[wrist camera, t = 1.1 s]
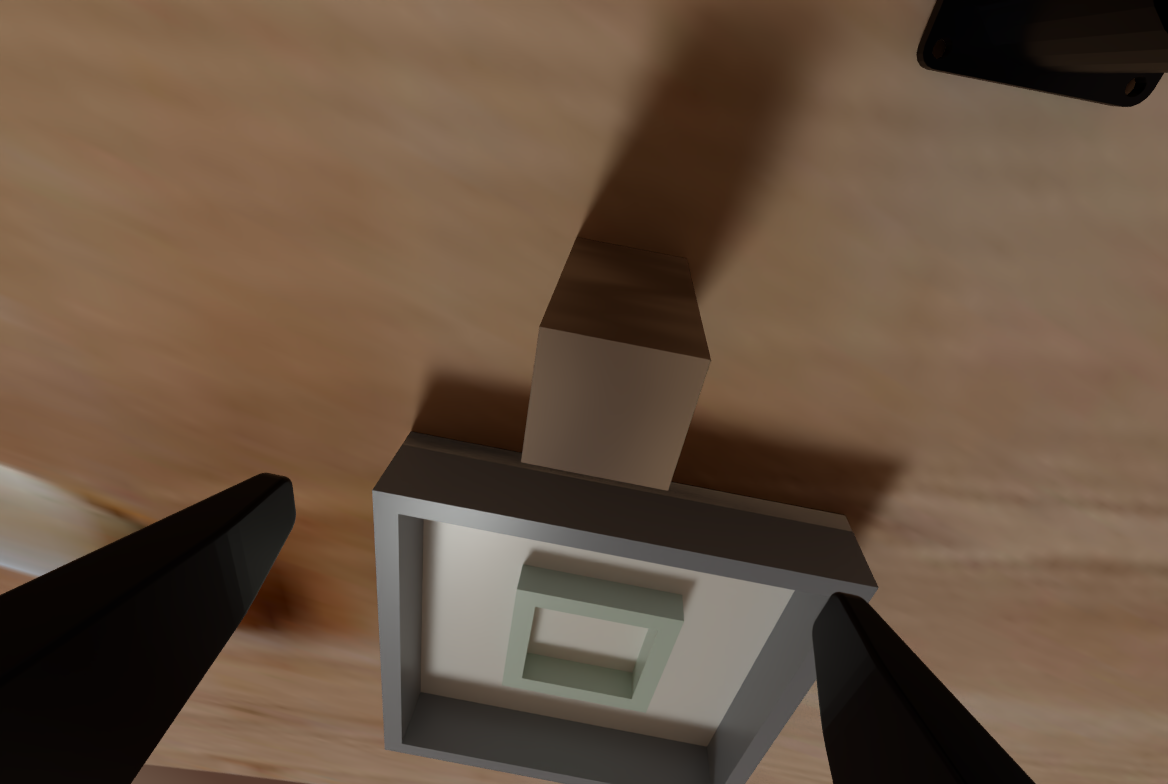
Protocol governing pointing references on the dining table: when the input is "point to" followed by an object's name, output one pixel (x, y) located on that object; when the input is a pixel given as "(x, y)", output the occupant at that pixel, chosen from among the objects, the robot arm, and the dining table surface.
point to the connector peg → (617, 366)
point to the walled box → (594, 617)
